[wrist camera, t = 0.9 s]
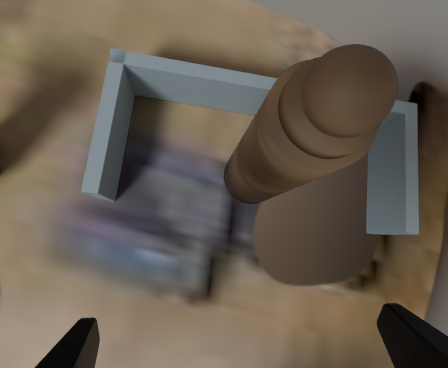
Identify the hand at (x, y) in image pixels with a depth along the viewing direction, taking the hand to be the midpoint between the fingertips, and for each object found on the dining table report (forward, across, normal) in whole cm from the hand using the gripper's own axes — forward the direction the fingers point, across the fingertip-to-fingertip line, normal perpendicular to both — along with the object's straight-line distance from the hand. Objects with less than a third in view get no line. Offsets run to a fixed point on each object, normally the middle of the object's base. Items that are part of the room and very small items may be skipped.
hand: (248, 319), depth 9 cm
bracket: (+16, -4, +1) cm, 17 cm away
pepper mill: (+16, -3, +2) cm, 16 cm away
